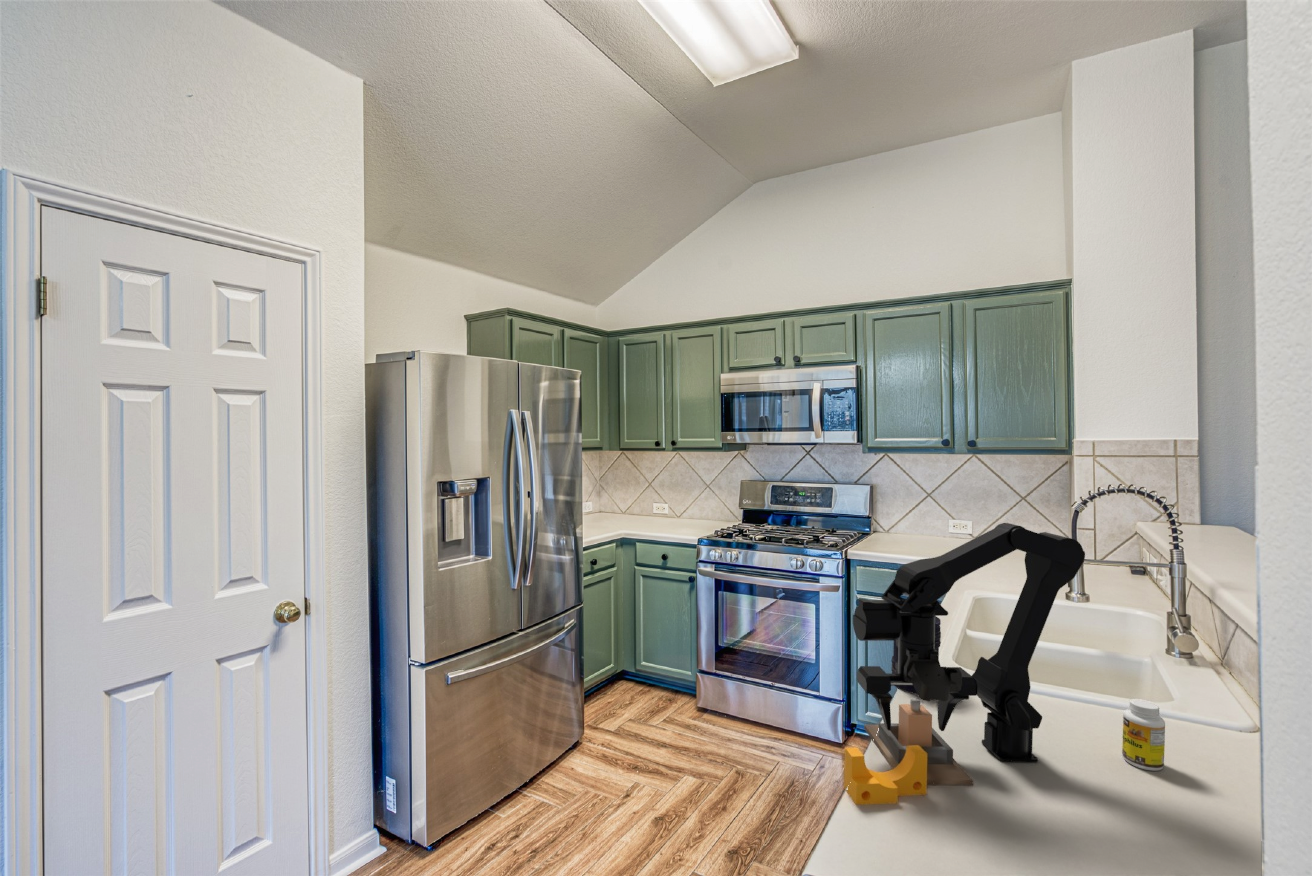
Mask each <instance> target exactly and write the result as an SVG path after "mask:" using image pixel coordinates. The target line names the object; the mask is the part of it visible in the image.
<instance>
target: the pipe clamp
mask: <svg viewBox="0 0 1312 876" xmlns="http://www.w3.org/2000/svg"><path fill="white" fill-rule="evenodd" d="M850 782H851V783H850ZM848 785H849V786H848ZM843 786H844V787H843V789H845V791H846V793H847V794H848V796H849V797H850V798H851V800H852V802H853V803H854V804H855V805H856V806H863V805H881V804H883V805H884V804H885V805H887V804H898V801H899V798H898V797H900V796H902V797H904V796H918V795H919V796H921V795H927V793H928V792H927V789H928V786H927V753H926V752H925V751H924V750H923V749H922V748H921V747H920V746H919V745H908V746H907V749H906V753H905V756H904V758H903V760H902V761H901V762H900V764H899V765H898V766H896V767H895V768H894V769H892V768H891V769H890V770H887V771H875V770H871V769H870V768H868V767H867V765H866V761H865V755H864V753H862V751H860V749H859V748H858V747H845V748H844V782H843ZM847 786H848V790H846V788H847Z"/></svg>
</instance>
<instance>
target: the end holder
mask: <svg viewBox="0 0 1312 876" xmlns="http://www.w3.org/2000/svg"><path fill="white" fill-rule="evenodd" d="M863 726H864V727H863V729H864V731H865V732H866V733H867V735H868V737H870V740H871V741H873V739H874V742H873V743H874V745H875V746H876V748H877V749H878V750H879V752H880V753H881V754H882V757H883V758H884V759H885V761H886V762H887V763H888V765H889V767H891V770H892V769H894V768H895V767H896V766H898V765H899V764H900V762H901V761H902V760H903V758H904V756H905V753H906V749H907V746H902V745H901V744H900V743H899V741H898V730H899V723H892V722H891V728H890V731H889V730H887V729H886V727H885V724H884V722H883V723H882V722H881V723H880V722H879V723H878V724H868V723H867V724H863ZM878 728H879V731H878ZM877 731H878V733H877ZM876 734H877V736H876ZM921 748H922V749H923V750H924V751H925V752H926V753H927V785H929V786H931V785H934V786H937V785H940V786H943V785H945V786H948V785H949V786H974V780H973V778H972V777H971V776H970V775H969V774H968V772H967V771H965V769H964V768H963V767H962V766H961V765H960V764H959V763H958V762H957V761H956V759H955V758H954V749H953V748H952V747H951V746H950V745H949V744H948V743H947V742H946V741H945V739H944V738H943V737H942V736H941V735H940V734H939V732H937V731H936V730H935V729H934V728H933V727H932V747H921Z"/></svg>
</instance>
